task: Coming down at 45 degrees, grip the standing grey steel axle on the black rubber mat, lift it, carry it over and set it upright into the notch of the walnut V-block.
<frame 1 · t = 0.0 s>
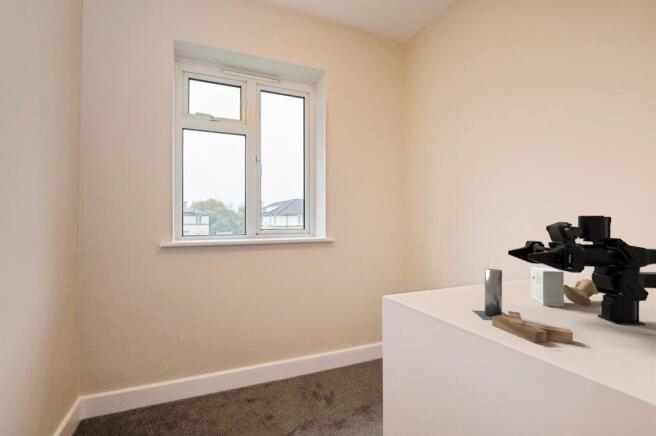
hand: (517, 254, 80), 17 cm above the table, tool horizontal, fingers open, 9 cm apart
small box: (546, 304, 95), on the table
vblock: (534, 332, 70), on the table
tan curved shape: (582, 303, 96), on the table
mat: (493, 316, 81), on the table
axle: (493, 315, 81), resting on mat
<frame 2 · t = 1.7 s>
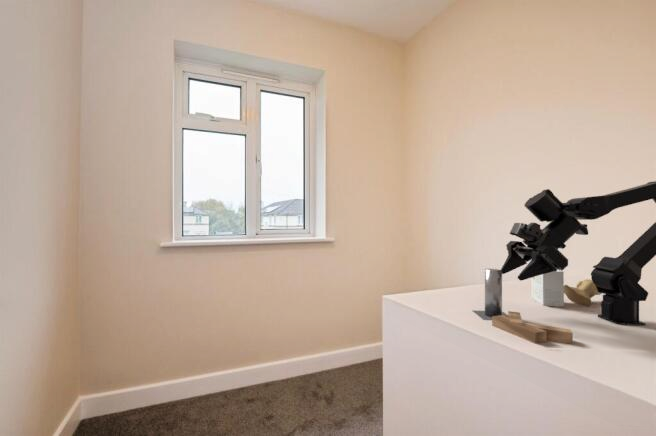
hand: (509, 275, 81), 11 cm above the table, tool tilted 45°, fingers open, 9 cm apart
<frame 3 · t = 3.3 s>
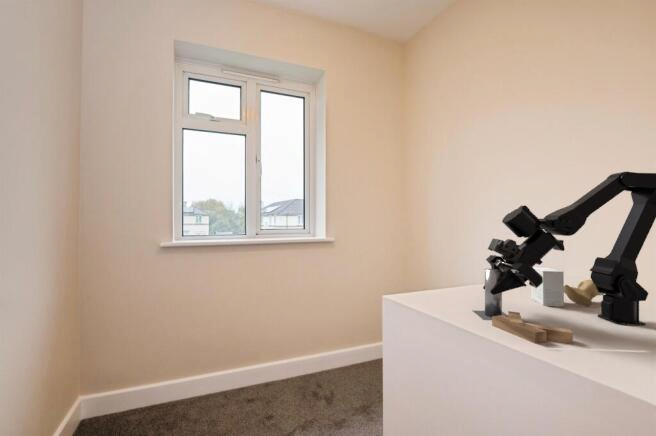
hand: (487, 291, 81), 7 cm above the table, tool tilted 45°, fingers closed on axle, 4 cm apart
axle: (493, 315, 81), resting on mat, touching gripper
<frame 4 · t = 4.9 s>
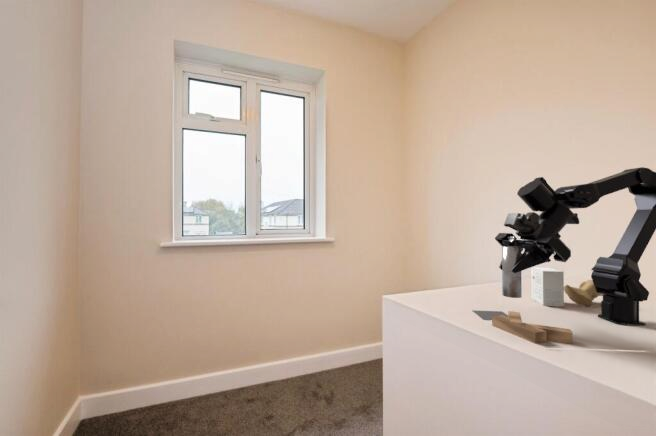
hand: (506, 270, 75), 13 cm above the table, tool tilted 45°, fingers closed on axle, 4 cm apart
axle: (511, 295, 75), point 7 cm above the table, touching gripper
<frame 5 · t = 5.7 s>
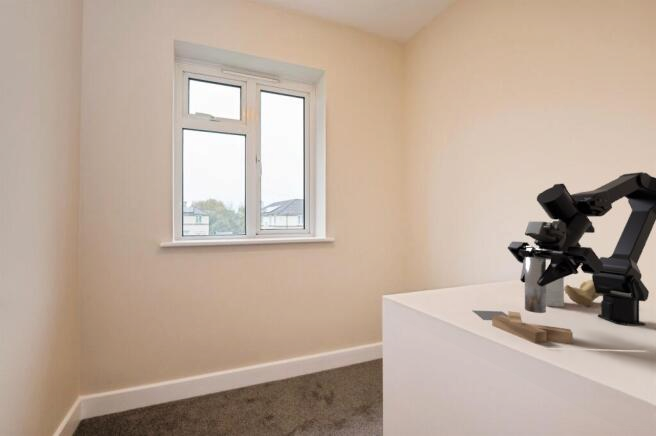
hand: (530, 283, 69), 11 cm above the table, tool tilted 45°, fingers closed on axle, 4 cm apart
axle: (535, 310, 70), point 5 cm above the table, touching gripper
when the fingers open (8 cm above the table, at t = 6.5 s): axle drops 2 cm, on the table.
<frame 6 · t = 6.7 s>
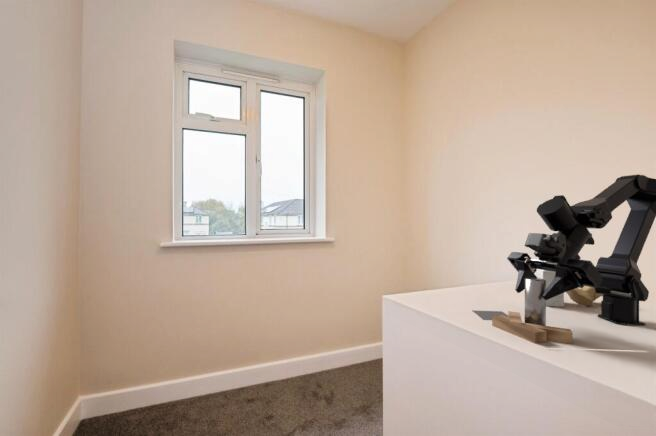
hand: (529, 294, 69), 9 cm above the table, tool tilted 45°, fingers open, 6 cm apart
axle: (534, 331, 70), on the table
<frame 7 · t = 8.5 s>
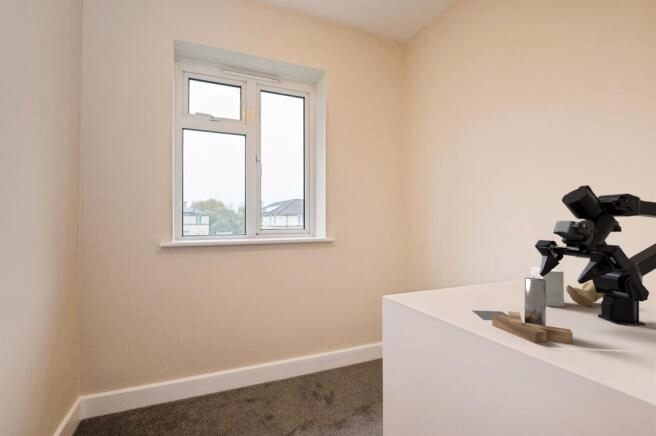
hand: (558, 278, 74), 11 cm above the table, tool tilted 45°, fingers open, 9 cm apart
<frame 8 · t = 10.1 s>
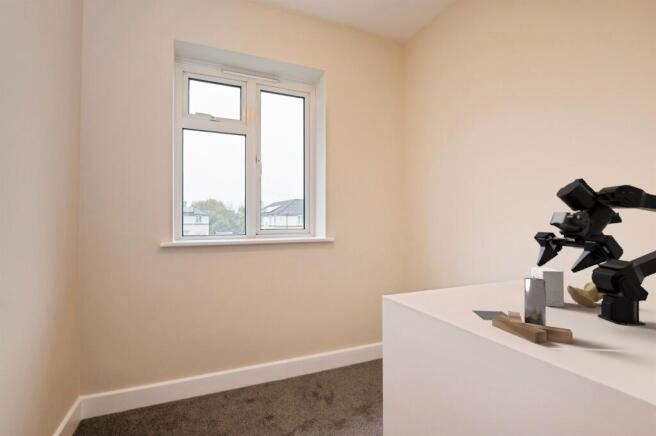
hand: (554, 268, 76), 14 cm above the table, tool tilted 45°, fingers open, 9 cm apart
at the end: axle 0.1 cm from the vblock (horizontally); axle tilted 0°; the gripper is holding nothing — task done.
